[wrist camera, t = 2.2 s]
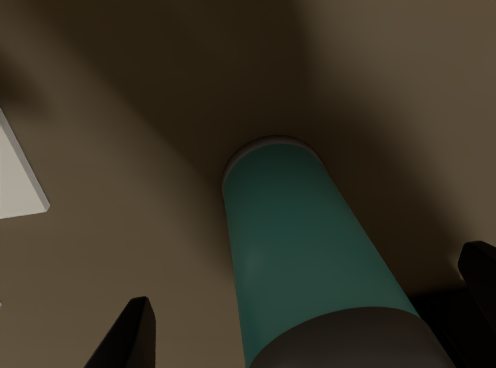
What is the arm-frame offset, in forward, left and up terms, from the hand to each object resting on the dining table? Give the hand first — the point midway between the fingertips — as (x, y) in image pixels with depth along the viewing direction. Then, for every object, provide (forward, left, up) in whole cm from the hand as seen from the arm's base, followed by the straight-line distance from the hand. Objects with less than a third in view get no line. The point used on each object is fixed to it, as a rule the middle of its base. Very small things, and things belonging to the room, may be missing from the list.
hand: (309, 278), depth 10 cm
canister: (0, 0, -5) cm, 5 cm away
